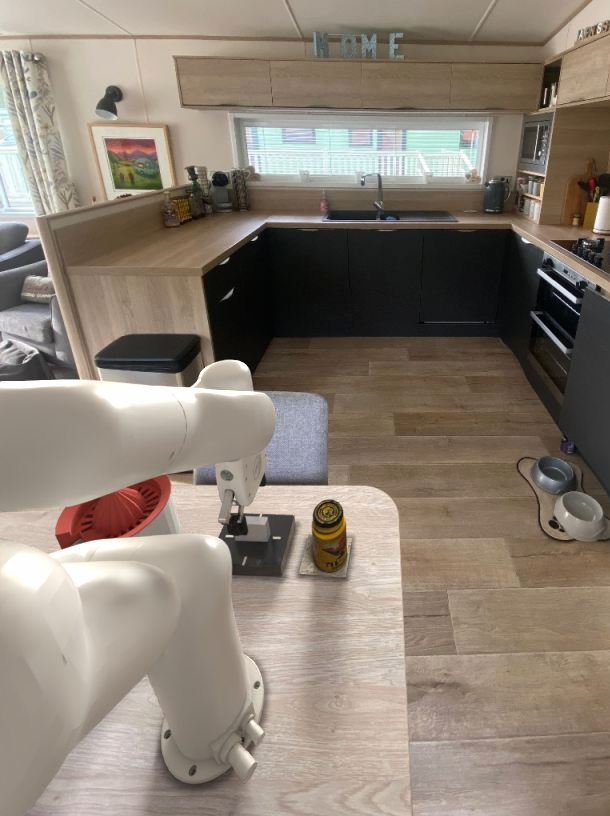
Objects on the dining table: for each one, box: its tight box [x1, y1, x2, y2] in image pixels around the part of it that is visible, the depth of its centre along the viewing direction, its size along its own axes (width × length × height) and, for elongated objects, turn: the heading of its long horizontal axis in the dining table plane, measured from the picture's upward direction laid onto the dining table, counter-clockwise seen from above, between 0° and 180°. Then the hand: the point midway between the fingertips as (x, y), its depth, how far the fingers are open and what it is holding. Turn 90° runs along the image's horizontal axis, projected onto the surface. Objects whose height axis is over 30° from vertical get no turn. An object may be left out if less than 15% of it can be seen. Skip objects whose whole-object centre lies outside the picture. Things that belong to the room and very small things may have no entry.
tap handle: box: [235, 516, 270, 542], centre depth 71 cm, size 6×2×5 cm, turn 88°
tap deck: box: [217, 512, 297, 578], centre depth 72 cm, size 13×10×3 cm
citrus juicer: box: [54, 474, 182, 550], centre depth 64 cm, size 16×17×20 cm
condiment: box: [298, 498, 353, 578], centre depth 69 cm, size 7×8×12 cm
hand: (248, 507), depth 69 cm, fingers open, 9 cm apart
